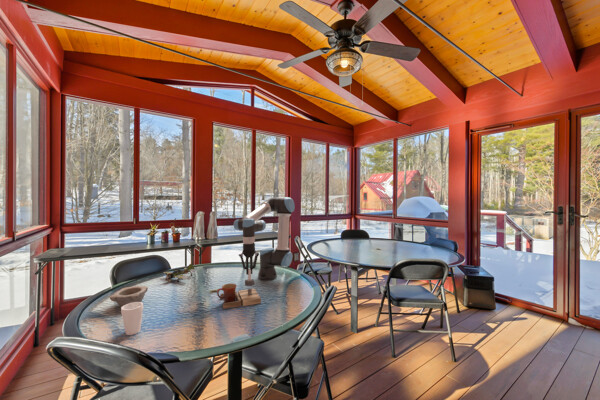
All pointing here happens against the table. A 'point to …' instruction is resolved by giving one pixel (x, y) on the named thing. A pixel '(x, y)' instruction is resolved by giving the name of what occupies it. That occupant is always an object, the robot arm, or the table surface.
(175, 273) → the toy airplane
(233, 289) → the mug
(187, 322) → the table surface
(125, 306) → the foam cup
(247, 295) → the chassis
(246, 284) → the wheel
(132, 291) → the mortar
